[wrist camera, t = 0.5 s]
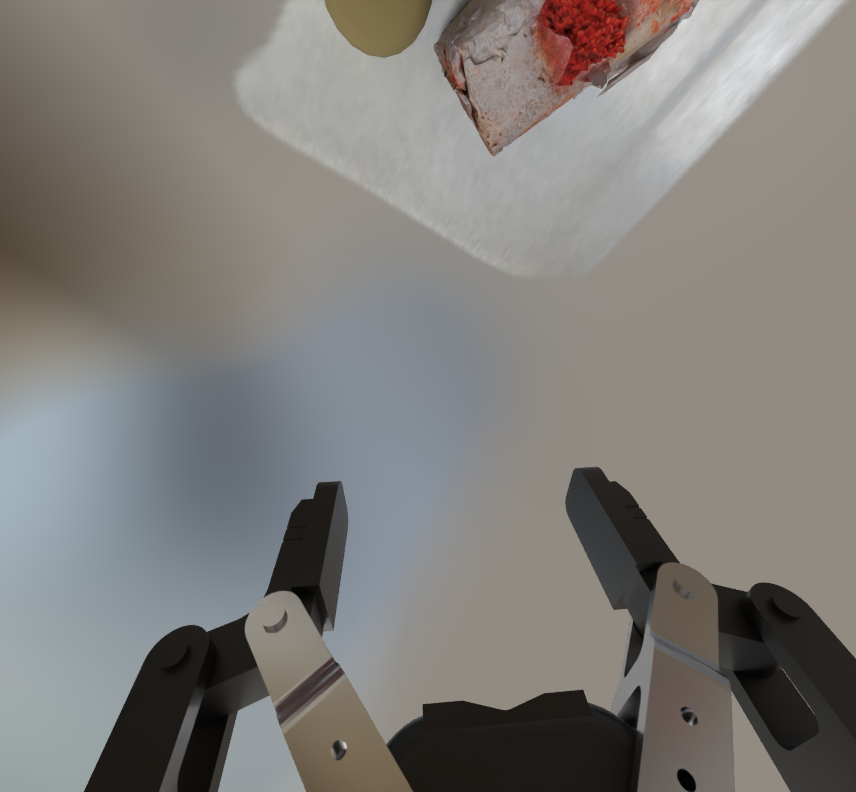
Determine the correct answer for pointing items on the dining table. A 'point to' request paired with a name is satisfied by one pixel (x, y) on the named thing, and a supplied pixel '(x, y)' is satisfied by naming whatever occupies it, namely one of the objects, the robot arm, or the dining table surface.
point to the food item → (546, 55)
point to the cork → (379, 23)
